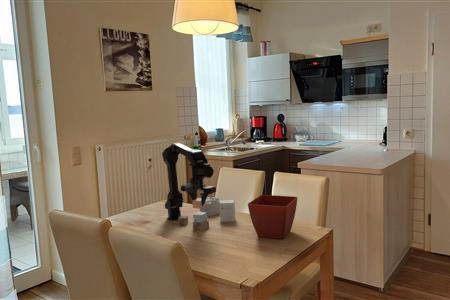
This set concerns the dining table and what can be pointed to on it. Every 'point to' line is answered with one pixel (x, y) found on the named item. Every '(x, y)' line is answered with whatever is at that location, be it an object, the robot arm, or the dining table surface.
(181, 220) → the walnut block
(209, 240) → the dining table surface
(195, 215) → the slate middle block
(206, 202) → the lumpy-topped squat cylinder
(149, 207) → the dining table surface
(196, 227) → the walnut base block
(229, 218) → the small box
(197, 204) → the terracotta cube
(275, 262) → the dining table surface
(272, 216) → the plant pot
